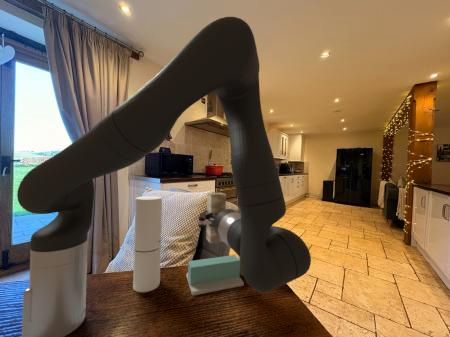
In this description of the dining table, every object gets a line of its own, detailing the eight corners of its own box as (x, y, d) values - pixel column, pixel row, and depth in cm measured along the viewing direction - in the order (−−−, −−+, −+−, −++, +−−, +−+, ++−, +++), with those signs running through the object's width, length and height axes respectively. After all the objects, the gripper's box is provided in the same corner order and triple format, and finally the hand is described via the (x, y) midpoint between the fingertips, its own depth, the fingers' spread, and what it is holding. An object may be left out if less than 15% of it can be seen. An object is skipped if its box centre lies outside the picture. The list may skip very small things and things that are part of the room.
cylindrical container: (163, 278, 60) (165, 196, 60) (154, 292, 53) (156, 199, 53) (140, 277, 60) (142, 195, 60) (128, 291, 53) (130, 199, 53)
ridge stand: (192, 295, 52) (192, 273, 52) (186, 276, 62) (186, 257, 62) (243, 285, 57) (244, 264, 57) (230, 268, 67) (231, 251, 67)
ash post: (210, 243, 56) (211, 194, 57) (206, 238, 61) (207, 192, 61) (224, 241, 58) (226, 194, 58) (220, 236, 62) (221, 192, 62)
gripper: (261, 211, 48) (234, 200, 64) (204, 214, 43) (190, 201, 60) (260, 241, 48) (233, 223, 64) (203, 248, 43) (190, 226, 60)
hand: (213, 213), depth 62 cm, fingers closed on ash post, 4 cm apart
